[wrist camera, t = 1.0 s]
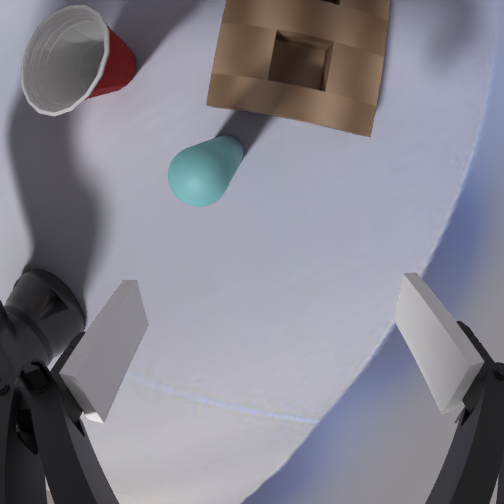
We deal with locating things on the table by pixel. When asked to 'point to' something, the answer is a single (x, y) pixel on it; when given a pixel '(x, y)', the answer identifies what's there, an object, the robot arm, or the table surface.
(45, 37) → the plastic cup
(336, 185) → the table surface
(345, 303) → the table surface
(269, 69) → the bore block
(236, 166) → the teal peg
